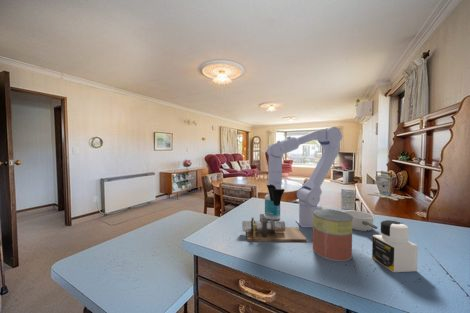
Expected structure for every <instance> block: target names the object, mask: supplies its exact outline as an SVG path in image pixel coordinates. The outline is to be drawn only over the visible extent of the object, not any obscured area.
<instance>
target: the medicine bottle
mask: <svg viewBox="0 0 470 313" xmlns="http://www.w3.org/2000/svg"><path fill="white" fill-rule="evenodd" d="M409 234H410V229H409V227H408V225H406V224H405V223H403V222H400V221H398V220H397V221H396V220H392V219H391V220H386V219H385V220H382V221H380V234H373V235H372V245H371V246H372V248H371V251H372V252H371V255H372V256H371V258H372V259H373V260H374V261H376V262H378V264H380V265H381V266H383V267H385V268H386V269H387V270H389V271H391V273H408V272H409V273H410V272H417V271H418V259H419V258H418V255H419V253H418V251H419V250H418V249H419V247H418V245H417V244H416V243H413V242H411V241H409Z"/></svg>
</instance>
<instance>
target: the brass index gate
mask: <svg viewBox="0 0 470 313" xmlns="http://www.w3.org/2000/svg"><path fill="white" fill-rule="evenodd" d="M254 219H255V217H253V216H251V221H255V220H254ZM252 237H257V235H255V224H253V235H252Z"/></svg>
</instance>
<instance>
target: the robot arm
mask: <svg viewBox="0 0 470 313" xmlns="http://www.w3.org/2000/svg"><path fill="white" fill-rule="evenodd" d="M342 139H343V134H342V131H341V129H339V127H337V126H332V127H328V128H321V129H317V130H313V131H310V132H307V133H306V134H304V135H300V136H299V137H296V136H286V139H283V140H277V141H276V143H272V144H270V145H269V146H268V147H267V149H266V154H267V156H268V169H267V170H268V172H267V173H268V176H267V177H268V178H267V179H268V180H267V181H266V180H265V182H264V183H265V184H266V188H267V191H268V190H269V195H270V200H271V201H273V203H274V206H279V205H280V206H281V200H282V197H283V194H284V193H285V191H286V190H285V188H282V185H283V156H284V155H285V154H288V153H290V152H293V151H296V150H297V149H299V147H300V145H303V144H305V143H309V142H311V141H317V142H318V143H319V144H320V146H321V147H322V148H323V149H322V150H323V153H322V155H321V157H320V158H319V160H318V162H317V164H316V165H315V168H314V170H313V171H312V174H310V176H309V178H308V180H307V181H306V182H305V183H303V184H302V186H301V187H300V188H299V189H297V191H296V197H297V199H298V200H299V201H298V219H295V222H296V223H297V225H299V226H300V227H301V228H313V211H315V210H318V209H323V206H322V205H321V204H319V203H320V201H321V195H322V193H323V192H322V188H321V187H322V184H323V182H324V181H325V179H326V178H327V174H328V173H329V171H330V169H331V168H332V166H333V164H334V162H335V160H336V159H337V156H338V154H339V152H340V146H341V140H342Z"/></svg>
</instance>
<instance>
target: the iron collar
mask: <svg viewBox="0 0 470 313" xmlns="http://www.w3.org/2000/svg"><path fill="white" fill-rule="evenodd" d="M259 221H262V237H267V221H268V220H267V218H265V213H260V214H259Z"/></svg>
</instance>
